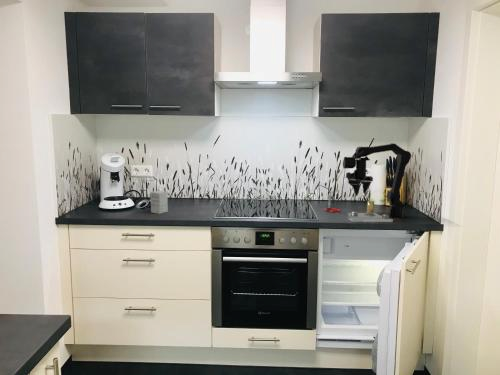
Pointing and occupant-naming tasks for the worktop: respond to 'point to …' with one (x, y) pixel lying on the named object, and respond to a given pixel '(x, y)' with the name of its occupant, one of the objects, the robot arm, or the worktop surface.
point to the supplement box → (159, 202)
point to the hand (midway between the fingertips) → (360, 194)
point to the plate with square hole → (368, 217)
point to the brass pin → (370, 206)
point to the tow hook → (330, 205)
